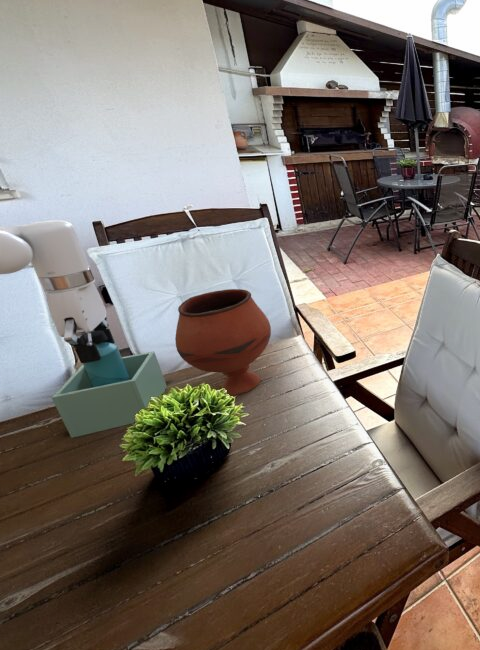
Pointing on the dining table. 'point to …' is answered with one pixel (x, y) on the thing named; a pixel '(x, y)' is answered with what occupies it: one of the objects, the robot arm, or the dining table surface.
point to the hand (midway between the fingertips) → (98, 352)
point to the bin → (109, 397)
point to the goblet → (223, 336)
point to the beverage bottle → (105, 362)
